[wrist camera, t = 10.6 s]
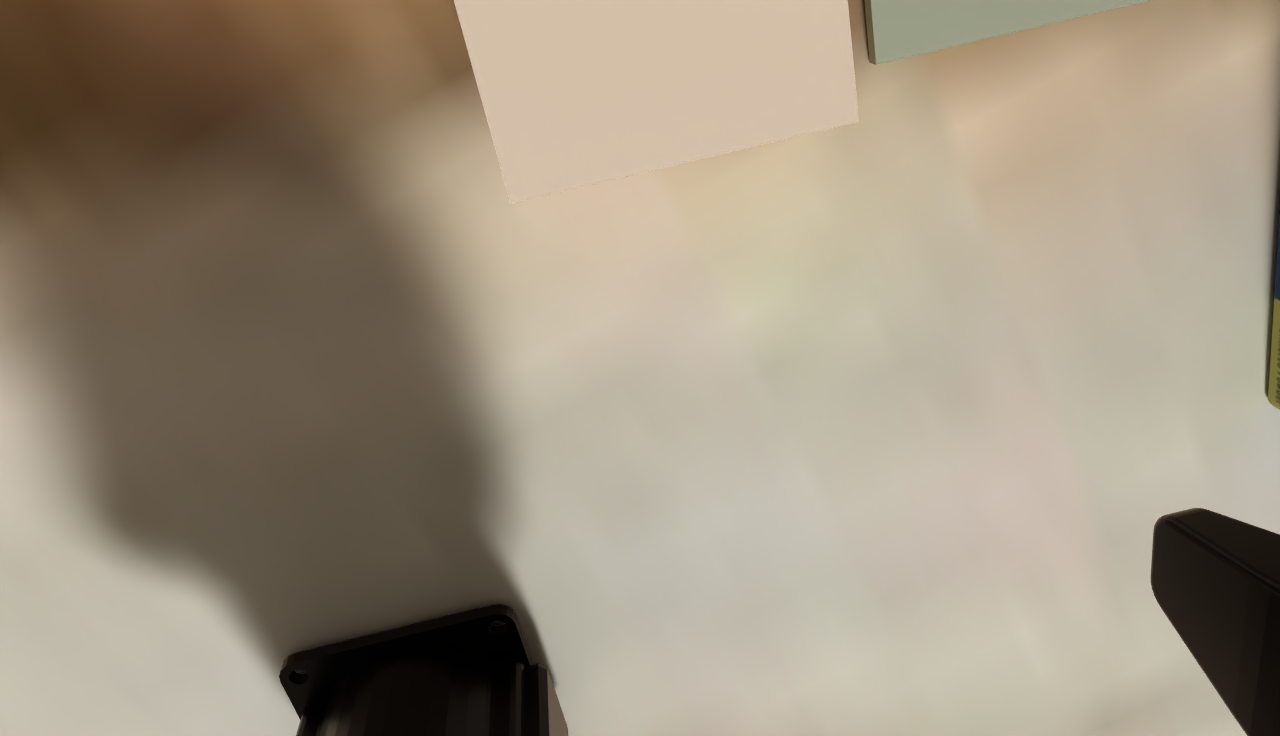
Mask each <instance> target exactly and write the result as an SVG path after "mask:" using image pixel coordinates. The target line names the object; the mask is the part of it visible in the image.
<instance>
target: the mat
mask: <svg viewBox="0 0 1280 736" xmlns="http://www.w3.org/2000/svg"><path fill="white" fill-rule="evenodd" d="M1146 1H1150V0H864V3H865V15H866V26H867V38H868V49H869V61H870V63H873V64H876V65H877V64H881V63H885V62H890V61H894V60H898V59H902V58H907V57H911V56H915V55H919V54H924V53H928V52H932V51H936V50H941V49H945V48H949V47H954V46H958V45H962V44H966V43H971V42H975V41H979V40H983V39H988V38H992V37H996V36H1000V35H1005V34H1009V33H1013V32H1018V31H1022V30H1026V29H1030V28H1035V27H1039V26H1043V25H1047V24H1052V23H1056V22H1060V21H1064V20H1069V19H1073V18H1077V17H1082V16H1086V15H1090V14H1094V13H1099V12H1103V11H1107V10H1111V9H1116V8H1120V7H1124V6H1128V5H1133V4H1137V3H1141V2H1146Z"/></svg>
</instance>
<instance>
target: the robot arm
mask: <svg viewBox="0 0 1280 736" xmlns="http://www.w3.org/2000/svg"><path fill="white" fill-rule="evenodd" d="M1151 585H1152V590H1153V593H1154V596H1155V598H1156V600H1157V602H1158V604H1159V605H1160V607H1161V608H1162V610H1163V611H1164V613H1165V614H1166V616H1167V617H1168V619H1169V620H1170V622H1171V623H1172V625H1173V626H1174V628H1175V629H1176V631H1177V632H1178V634H1179V635H1180V637H1181V638H1182V640H1183V641H1184V643H1185V644H1186V646H1187V647H1188V649H1189V650H1190V652H1191V653H1192V655H1193V656H1194V658H1195V659H1196V661H1197V662H1198V664H1199V665H1200V667H1201V668H1202V670H1203V671H1204V673H1205V674H1206V676H1207V677H1208V679H1209V680H1210V682H1211V683H1212V685H1213V686H1214V688H1215V689H1216V691H1217V692H1218V694H1219V695H1220V697H1221V698H1222V700H1223V701H1224V703H1225V704H1226V706H1227V707H1228V709H1229V710H1230V712H1231V713H1232V715H1233V716H1234V717H1235V719H1236V720H1237V722H1238V723H1239V724H1240V726H1241V727H1242V729H1243V730H1244V731H1245V733H1246V734H1247V736H1280V535H1279V534H1276V533H1273V532H1270V531H1268V530H1265V529H1262V528H1259V527H1256V526H1253V525H1250V524H1247V523H1244V522H1241V521H1239V520H1236V519H1233V518H1230V517H1227V516H1224V515H1221V514H1218V513H1215V512H1213V511H1210V510H1206V509H1203V508H1192V509H1188V510H1184V511H1180V512H1176V513H1172V514H1168V515H1164V516H1162V517H1160V518H1159V519H1158V520H1157V522H1156V524H1155V526H1154V533H1153V549H1152V564H1151ZM495 621H501V622H503V623H505V624H503V625H501V626H495V625H492V624H491V623H493V622H495ZM295 670H302V671H304V672H306V673H305V674H300V673H297V672H295ZM279 678H280V682H281V684H282V686H283V687H284V689H285V691H286V693H287V695H288V697H289V699H290V701H291V703H292V705H293V707H294V708H295V710H296V712H297V714H298V716H299V718H300V724H299V727H298V731H297V734H296V736H568V728H567V724H566V721H565V718H564V715H563V713H562V710H561V707H560V704H559V701H558V698H557V695H556V692H555V689H554V686H553V683H552V680H551V677H550V674H549V671H548V669H547V668H546V667H544V666H543V665H541V664H540V663H538V664H534V665H533V662H532V659H531V656H530V653H529V650H528V648H527V645H526V642H525V639H524V636H523V633H522V630H521V627H520V625H519V622H518V619H517V616H516V614H515V612H514V611H513V609H511V608H510V607H508V606H506V605H502V604H496V605H490V606H486V607H482V608H478V609H474V610H470V611H466V612H461V613H457V614H453V615H449V616H445V617H441V618H437V619H433V620H429V621H425V622H421V623H416V624H412V625H408V626H404V627H400V628H396V629H392V630H388V631H384V632H380V633H376V634H371V635H367V636H363V637H359V638H355V639H351V640H347V641H343V642H339V643H335V644H330V645H326V646H322V647H318V648H314V649H310V650H306V651H302V652H298V653H294V654H292V655H290V656H288V657H287V658H286V659H285V660H284V663H283V666H282V669H281V672H280V675H279Z"/></svg>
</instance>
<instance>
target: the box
mask: <svg viewBox="0 0 1280 736" xmlns="http://www.w3.org/2000/svg"><path fill="white" fill-rule="evenodd" d="M454 3H455V6H456V10H457V13H458V17H459V21H460V24H461V28H462V31H463V35H464V39H465V42H466V46H467V49H468V53H469V57H470V60H471V64H472V68H473V71H474V75H475V78H476V82H477V86H478V89H479V93H480V96H481V100H482V104H483V107H484V111H485V114H486V118H487V122H488V125H489V129H490V132H491V136H492V140H493V143H494V147H495V150H496V154H497V158H498V161H499V165H500V168H501V172H502V176H503V179H504V183H505V187H506V190H507V194H508V197H509V201H510V204H513V203H517V202H521V201H526V200H530V199H534V198H538V197H543V196H547V195H551V194H555V193H560V192H564V191H568V190H572V189H577V188H581V187H585V186H589V185H594V184H598V183H602V182H606V181H611V180H615V179H619V178H623V177H628V176H632V175H636V174H640V173H645V172H649V171H653V170H657V169H661V168H666V167H670V166H674V165H678V164H683V163H687V162H691V161H695V160H700V159H704V158H708V157H712V156H717V155H721V154H725V153H729V152H734V151H738V150H742V149H746V148H751V147H755V146H759V145H763V144H768V143H772V142H776V141H780V140H785V139H789V138H793V137H797V136H802V135H806V134H810V133H814V132H819V131H823V130H827V129H831V128H836V127H840V126H844V125H848V124H853V123H857V122H859V115H858V105H857V94H856V84H855V73H854V63H853V52H852V41H851V31H850V20H849V10H848V0H454Z"/></svg>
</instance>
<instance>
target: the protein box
mask: <svg viewBox="0 0 1280 736" xmlns="http://www.w3.org/2000/svg"><path fill="white" fill-rule="evenodd" d="M1268 400H1269V402H1270V403H1271V404H1272V405H1273V406H1274V407H1276V408H1278V409H1280V216H1279V232H1278V247H1277V263H1276V278H1275V295H1274V313H1273V327H1272V343H1271V360H1270V375H1269V390H1268Z"/></svg>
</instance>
